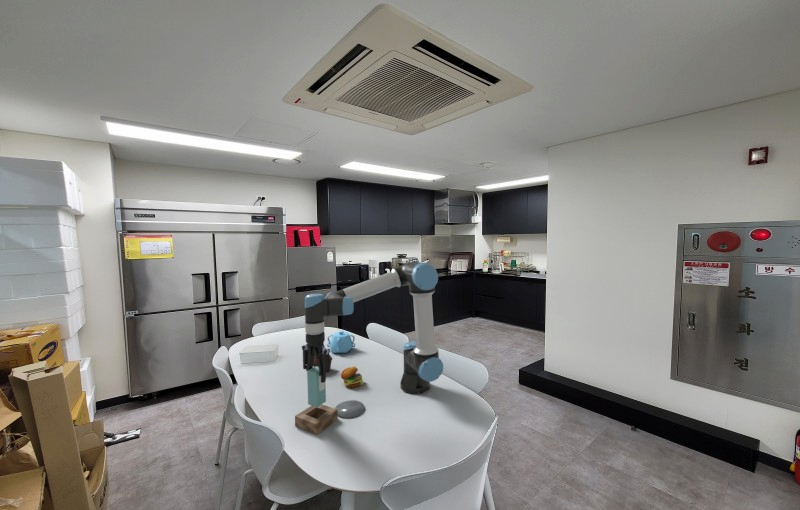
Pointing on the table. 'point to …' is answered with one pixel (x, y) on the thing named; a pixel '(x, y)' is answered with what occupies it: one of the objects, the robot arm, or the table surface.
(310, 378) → the post
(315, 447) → the table surface
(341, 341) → the decorative pot
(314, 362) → the muffin
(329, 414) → the holder
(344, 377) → the cheeseburger
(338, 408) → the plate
